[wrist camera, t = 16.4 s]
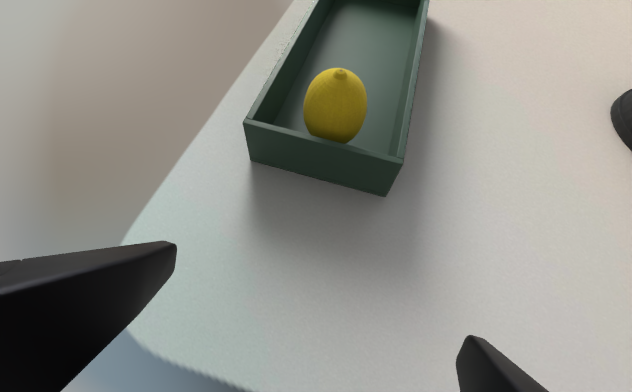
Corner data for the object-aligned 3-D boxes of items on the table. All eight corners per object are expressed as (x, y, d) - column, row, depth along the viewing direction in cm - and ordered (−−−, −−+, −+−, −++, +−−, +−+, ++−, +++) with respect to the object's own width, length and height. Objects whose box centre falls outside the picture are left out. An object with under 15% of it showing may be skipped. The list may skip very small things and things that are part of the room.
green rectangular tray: (385, 197, 27) (402, 164, 22) (250, 160, 28) (242, 122, 24) (420, 11, 44) (433, -28, 40) (335, -7, 45) (340, -47, 41)
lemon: (358, 164, 28) (379, 97, 21) (300, 160, 28) (302, 92, 21) (356, 122, 31) (374, 51, 24) (303, 118, 30) (306, 45, 24)
